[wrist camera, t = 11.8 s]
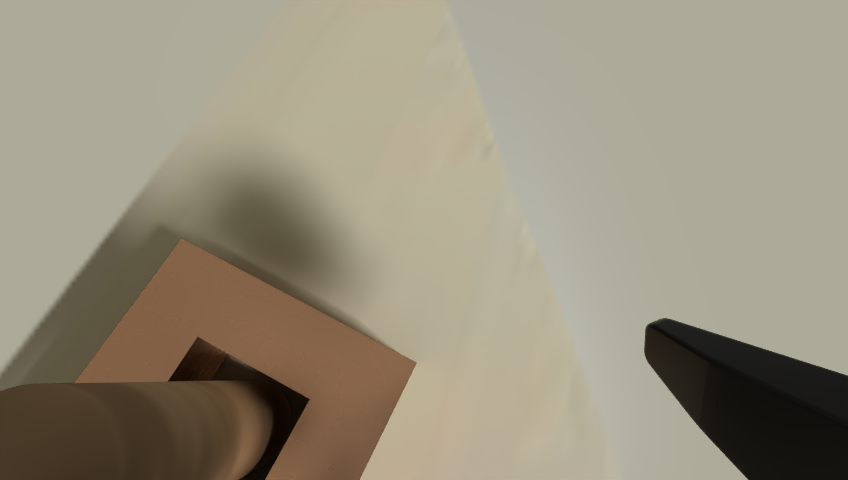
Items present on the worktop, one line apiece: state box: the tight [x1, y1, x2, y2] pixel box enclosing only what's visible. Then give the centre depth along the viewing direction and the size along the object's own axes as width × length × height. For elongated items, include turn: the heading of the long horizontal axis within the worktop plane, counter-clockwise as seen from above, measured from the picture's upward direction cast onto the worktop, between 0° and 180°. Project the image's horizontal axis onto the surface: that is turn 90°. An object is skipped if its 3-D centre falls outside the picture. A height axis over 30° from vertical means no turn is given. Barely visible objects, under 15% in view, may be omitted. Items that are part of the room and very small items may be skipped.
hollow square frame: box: [75, 239, 416, 480], centre depth 18 cm, size 12×12×4 cm
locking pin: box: [0, 380, 291, 480], centre depth 14 cm, size 4×4×13 cm
